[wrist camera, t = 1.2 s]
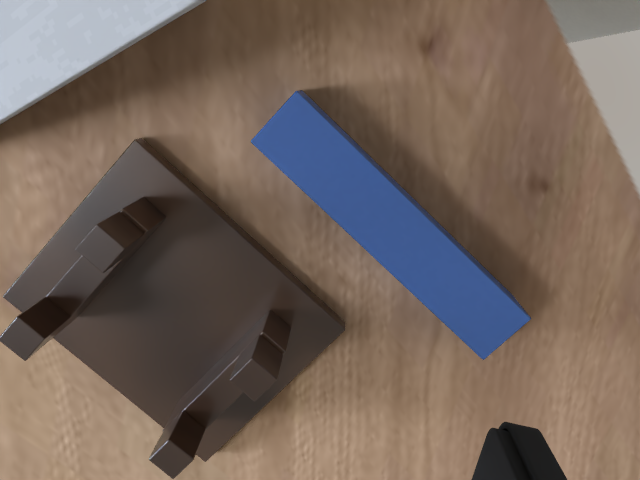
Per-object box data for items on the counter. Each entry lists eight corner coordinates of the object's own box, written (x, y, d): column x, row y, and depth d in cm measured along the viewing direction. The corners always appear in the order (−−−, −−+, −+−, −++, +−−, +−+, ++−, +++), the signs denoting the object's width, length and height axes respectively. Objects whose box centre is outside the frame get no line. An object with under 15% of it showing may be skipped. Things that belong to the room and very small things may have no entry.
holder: (141, 137, 30) (86, 151, 24) (345, 322, 33) (345, 380, 26) (12, 290, 33) (-69, 339, 27) (209, 452, 35) (178, 533, 29)
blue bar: (301, 89, 29) (296, 90, 26) (513, 296, 32) (531, 319, 29) (260, 135, 30) (250, 141, 27) (470, 334, 32) (483, 360, 29)
